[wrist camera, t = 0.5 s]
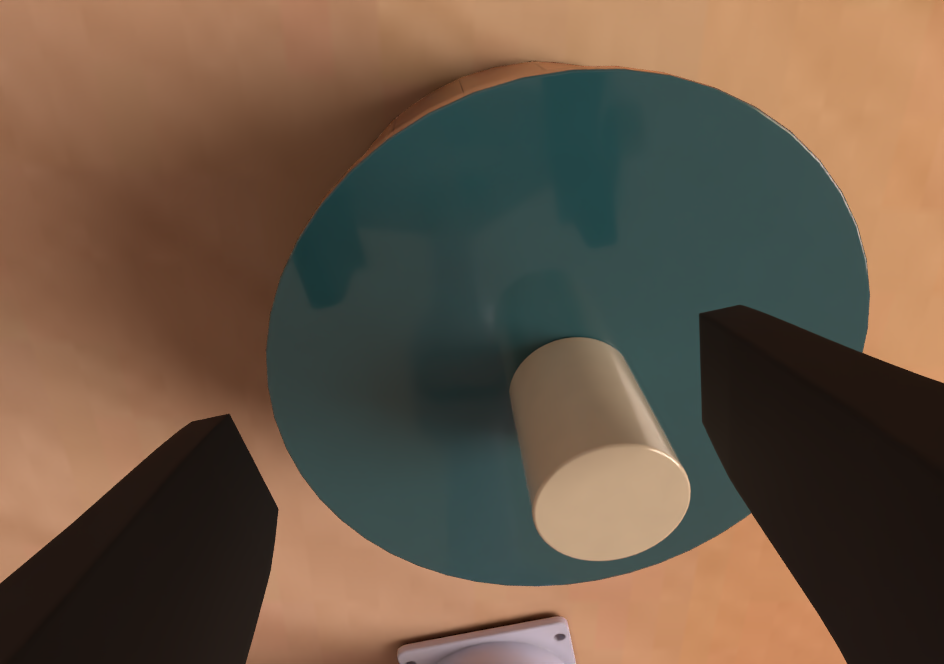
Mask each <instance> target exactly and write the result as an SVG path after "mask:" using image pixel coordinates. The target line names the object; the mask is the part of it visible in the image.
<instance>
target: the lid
mask: <svg viewBox="0 0 944 664" xmlns="http://www.w3.org/2000/svg"><path fill="white" fill-rule="evenodd" d="M869 300H870V291H869V280H868V270H867V260H866V256H865V252H864V248H863V245H862V241H861V237H860V233H859V230H858V226H857V223H856V221H855V219H854V217H853V215H852V213H851V210H850V208H849V206H848V204H847V202H846V200H845V198H844V195H843V193H842V191H841V190H840V188H839V187H838V185H837V184H836V183H835V181H834V180H833V178H832V177H831V175H830V174H829V173H828V171H827V170H826V168H825V167H824V165H823V164H822V163H821V161H820V160H819V159H818V158H817V157H816V156H815V155H814V154H813V153H812V152H811V151H810V150H809V149H808V148H807V147H806V146H805V145H804V144H803V143H802V142H801V141H800V140H799V139H798V138H797V137H796V136H795V135H794V134H793V133H792V132H791V131H790V130H788V129H787V128H785V127H784V126H783V125H781V124H780V123H778V122H777V121H775V120H774V119H773V118H771V117H770V116H768V115H767V114H765V113H764V112H763V111H761V110H760V109H758V108H757V107H755V106H753V105H751V104H749V103H747V102H744V101H742V100H740V99H738V98H736V97H734V96H732V95H730V94H728V93H726V92H723V91H721V90H719V89H717V88H715V87H712V86H709V85H705V84H702V83H699V82H695V81H692V80H688V79H685V78H681V77H678V76H675V75H671V74H668V73H664V72H658V71H650V70H643V69H635V68H628V67H620V66H583V67H563V68H557V69H551V70H544V71H538V72H531V73H525V74H519V75H516V76H513V77H509V78H506V79H503V80H499V81H496V82H493V83H489V84H486V85H483V86H479V87H476V88H473V89H471V90H468V91H466V92H464V93H462V94H460V95H458V96H455V97H453V98H451V99H449V100H447V101H444V102H442V103H440V104H438V105H436V106H434V107H431V108H429V109H427V110H426V111H424V112H423V113H421V114H419V115H418V116H416V117H415V118H413V119H412V120H410V121H409V122H407V123H405V124H404V125H402V126H401V127H399V128H398V129H396V130H394V131H393V132H391V133H390V134H388V135H387V136H386V137H385V138H383V139H382V140H381V141H380V142H379V143H378V144H376V145H375V146H374V147H373V148H372V149H371V150H369V151H368V152H367V153H366V154H365V155H364V156H362V157H361V158H360V159H359V160H358V161H356V162H355V163H354V164H353V165H352V166H351V167H350V168H349V170H348V171H347V172H346V173H345V174H344V175H343V176H342V177H341V179H340V180H339V181H338V182H337V183H336V184H335V185H334V187H333V188H332V189H331V190H330V191H329V192H328V193H327V195H326V196H325V197H324V198H323V199H322V201H321V203H320V204H319V206H318V207H317V209H316V210H315V212H314V213H313V215H312V216H311V218H310V220H309V221H308V223H307V224H306V226H305V227H304V229H303V230H302V232H301V233H300V235H299V237H298V239H297V241H296V243H295V246H294V248H293V250H292V252H291V254H290V257H289V259H288V261H287V263H286V265H285V268H284V270H283V272H282V274H281V276H280V280H279V283H278V287H277V290H276V294H275V298H274V301H273V305H272V308H271V312H270V318H269V327H268V335H267V344H266V364H267V385H268V389H269V394H270V399H271V404H272V409H273V413H274V418H275V420H276V423H277V426H278V428H279V431H280V434H281V436H282V439H283V441H284V444H285V447H286V449H287V451H288V452H289V454H290V456H291V458H292V459H293V461H294V463H295V465H296V467H297V468H298V470H299V472H300V474H301V475H302V477H303V478H304V479H305V480H306V482H307V483H308V484H309V486H310V487H311V488H312V490H313V491H314V492H315V493H316V495H317V496H318V497H319V499H320V500H321V501H322V502H323V503H324V504H325V505H326V506H327V507H328V508H329V509H330V510H331V511H332V512H333V513H334V514H335V515H336V516H337V517H338V518H339V519H341V520H342V521H343V522H344V523H346V524H347V525H348V526H350V527H351V528H352V529H353V530H355V531H356V532H357V533H359V534H360V535H361V536H363V537H364V538H365V539H367V540H369V541H370V542H372V543H374V544H375V545H377V546H379V547H381V548H382V549H384V550H386V551H387V552H389V553H391V554H393V555H395V556H397V557H400V558H402V559H404V560H406V561H409V562H411V563H413V564H415V565H417V566H420V567H423V568H426V569H429V570H432V571H436V572H439V573H442V574H445V575H448V576H453V577H457V578H462V579H466V580H471V581H475V582H483V583H491V584H499V585H510V586H551V585H568V584H575V583H582V582H589V581H596V580H601V579H606V578H610V577H614V576H619V575H623V574H627V573H631V572H634V571H637V570H640V569H643V568H646V567H649V566H652V565H656V564H659V563H661V562H664V561H666V560H668V559H671V558H673V557H675V556H678V555H680V554H683V553H685V552H687V551H690V550H691V549H693V548H695V547H697V546H699V545H701V544H703V543H705V542H707V541H708V540H710V539H712V538H714V537H716V536H718V535H719V534H721V533H723V532H724V531H726V530H727V529H729V528H730V527H732V526H733V525H735V524H736V523H738V522H739V521H741V520H743V519H744V518H745V517H747V516H748V515H749V514H751V511H750V510H749V508H748V507H747V505H746V504H745V502H744V501H743V499H742V498H741V496H740V495H739V493H738V491H737V490H736V488H735V487H734V485H733V484H732V482H731V481H730V479H729V477H728V475H727V473H726V471H725V469H724V467H723V465H722V463H721V461H720V459H719V457H718V455H717V453H716V451H715V449H714V447H713V445H712V442H711V440H710V438H709V436H708V434H707V432H706V430H705V427H704V425H703V423H702V404H701V369H700V335H699V313H703V312H708V311H713V310H717V309H722V308H727V307H731V306H736V305H744V306H747V307H750V308H753V309H755V310H758V311H761V312H763V313H766V314H769V315H771V316H774V317H776V318H778V319H781V320H783V321H786V322H788V323H791V324H793V325H796V326H798V327H800V328H803V329H805V330H808V331H810V332H812V333H815V334H817V335H820V336H822V337H824V338H827V339H829V340H832V341H834V342H837V343H839V344H841V345H844V346H846V347H849V348H851V349H854V350H856V351H859V352H861V353H862V352H863V348H864V343H865V338H866V334H867V329H868V315H869Z"/></svg>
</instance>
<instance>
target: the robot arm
mask: <svg viewBox="0 0 944 664" xmlns="http://www.w3.org/2000/svg"><path fill="white" fill-rule="evenodd" d="M699 335H700V369H701V404H702V423H703V425H704V427H705V430H706V432H707V434H708V436H709V438H710V440H711V442H712V445H713V447H714V449H715V451H716V453H717V455H718V457H719V459H720V461H721V463H722V465H723V467H724V469H725V471H726V473H727V475H728V477H729V479H730V481H731V482H732V484H733V485H734V487H735V488H736V490H737V491H738V493H739V495H740V496H741V498H742V499H743V501H744V502H745V504H746V505H747V507H748V508H749V510H750V511H751V513H752V515H753V516H754V518H755V519H756V521H757V522H758V524H759V525H760V527H761V528H762V530H763V531H764V533H765V534H766V536H767V537H768V539H769V540H770V542H771V543H772V545H773V546H774V548H775V549H776V551H777V552H778V554H779V555H780V557H781V558H782V560H783V561H784V563H785V564H786V566H787V567H788V569H789V570H790V572H791V573H792V575H793V576H794V578H795V579H796V581H797V582H798V584H799V585H800V587H801V588H802V590H803V591H804V593H805V595H806V596H807V598H808V599H809V601H810V602H811V604H812V605H813V607H814V608H815V610H816V611H817V613H818V614H819V616H820V618H821V619H822V621H823V622H824V624H825V626H826V627H827V629H828V631H829V632H830V634H831V636H832V637H833V639H834V641H835V642H836V644H837V645H838V647H839V649H840V651H841V653H842V655H843V656H844V658H845V660H846V662H847V664H944V383H941V382H939V381H936V380H933V379H930V378H927V377H924V376H921V375H919V374H916V373H913V372H911V371H908V370H905V369H903V368H900V367H897V366H895V365H892V364H889V363H887V362H884V361H882V360H879V359H876V358H874V357H871V356H869V355H866V354H864V353H861V352H859V351H856V350H854V349H851V348H849V347H846V346H844V345H841V344H839V343H837V342H834V341H832V340H829V339H827V338H824V337H822V336H820V335H817V334H815V333H812V332H810V331H808V330H805V329H803V328H800V327H798V326H796V325H793V324H791V323H788V322H786V321H783V320H781V319H778V318H776V317H774V316H771V315H769V314H766V313H763V312H761V311H758V310H755V309H753V308H750V307H747V306H744V305H736V306H731V307H727V308H722V309H717V310H713V311H708V312H703V313H699ZM277 517H278V507H277V505H276V503H275V501H274V499H273V497H272V495H271V494H270V492H269V490H268V488H267V486H266V484H265V482H264V480H263V478H262V476H261V474H260V472H259V470H258V468H257V466H256V464H255V462H254V460H253V459H252V457H251V455H250V453H249V451H248V449H247V447H246V445H245V443H244V441H243V439H242V437H241V435H240V433H239V431H238V429H237V427H236V425H235V423H234V422H233V420H232V418H231V416H230V414H226V415H221V416H216V417H212V418H207V419H202V420H197V421H193V422H191V423H189V424H188V425H186V426H185V427H184V428H182V429H181V430H179V431H178V432H177V433H176V434H174V435H173V436H172V437H171V438H169V439H168V440H167V441H166V442H164V443H163V444H162V445H161V446H160V447H159V448H157V449H156V450H155V451H154V452H153V453H151V454H150V455H149V456H148V457H147V458H146V459H145V460H143V461H142V462H141V463H140V464H139V465H138V466H137V467H135V468H134V469H133V470H132V471H131V472H130V473H129V474H128V475H126V476H125V477H124V478H123V479H122V480H121V481H120V482H119V483H117V484H116V485H115V486H114V487H113V488H112V489H111V490H109V491H108V492H107V493H106V494H105V495H104V496H103V497H102V498H100V499H99V500H98V501H97V502H96V503H95V504H94V505H93V506H91V507H90V508H89V509H88V510H87V511H86V512H85V513H83V514H82V515H81V516H80V517H79V518H78V519H77V520H76V521H74V522H73V523H72V524H71V525H70V526H69V527H67V528H66V529H65V530H64V531H63V532H61V533H60V534H59V535H58V536H57V537H55V538H54V539H53V540H52V541H51V542H49V543H48V544H47V545H46V546H45V547H43V548H42V549H41V550H40V551H39V552H38V553H36V554H35V555H34V556H33V557H32V558H30V559H29V560H28V561H27V562H26V563H24V564H23V565H22V566H21V567H20V568H18V569H17V570H16V571H15V572H14V573H12V574H11V575H10V576H9V577H8V578H6V579H5V580H4V581H3V582H2V583H0V664H246V660H247V657H248V653H249V650H250V646H251V642H252V639H253V635H254V631H255V628H256V624H257V621H258V617H259V613H260V609H261V605H262V602H263V598H264V594H265V590H266V587H267V583H268V579H269V575H270V571H271V564H272V557H273V551H274V544H275V535H276V526H277ZM397 659H398V662H399V664H576V661H575V656H574V651H573V646H572V641H571V637H570V632H569V627H568V622H567V620H566V619H565V618H563V617H560V616H556V617H550V618H545V619H539V620H534V621H529V622H523V623H518V624H513V625H507V626H502V627H496V628H491V629H486V630H480V631H475V632H470V633H464V634H459V635H454V636H448V637H443V638H438V639H432V640H427V641H422V642H416V643H411V644H406V645H403V646H401V647H400V648H399V649H398V651H397Z"/></svg>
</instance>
